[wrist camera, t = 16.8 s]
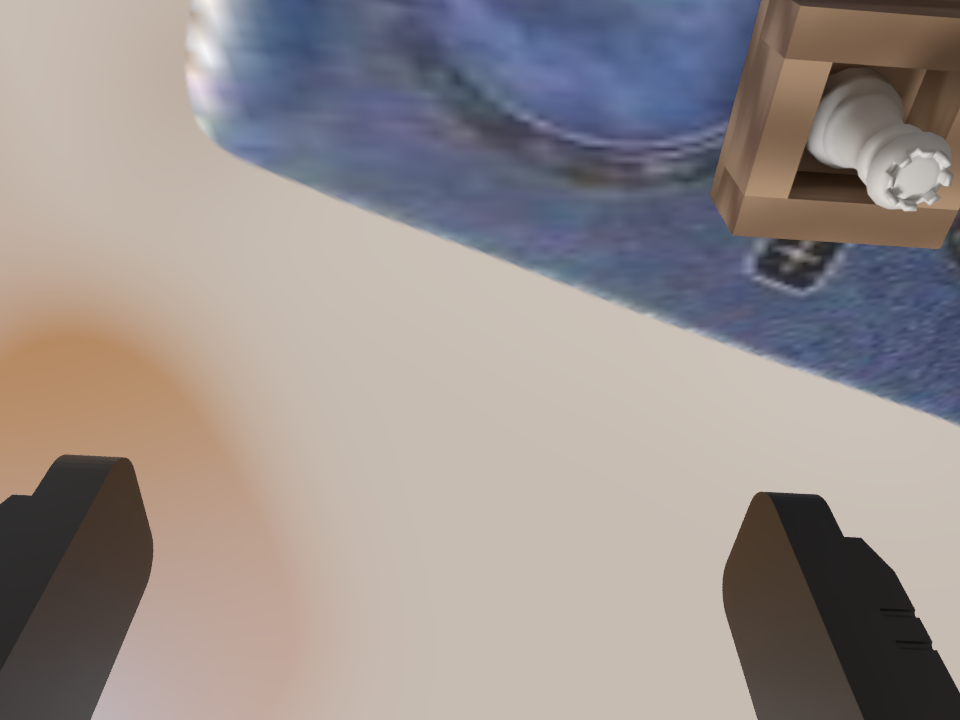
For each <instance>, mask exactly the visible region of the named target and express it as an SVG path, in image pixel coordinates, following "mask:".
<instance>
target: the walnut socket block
mask: <svg viewBox="0 0 960 720" xmlns="http://www.w3.org/2000/svg"><path fill="white" fill-rule="evenodd" d="M847 68H869V69H871V70H874V71H876V72H878V73H880V74H883V75H884V76H885V78H886V79H887V80H888V81H889V82H891V83H892V85H893V86H894V87H895V89H896V90H897V92H898V93H899V94H900V96H901V99H902V107H903V115H904V116H903V123H904V124H910V125H913V126H915V127H917V128H919V129H921V130H922V132H932V133H934V134H936V135H938V136H941V137H943V138H944V139H945V141H946V142H947V144H948V145H949V146H950V148H951V154H952V162H953V164H952V165H951V168H950V172H952V173H953V174H954V177H953V180H952V183H951V186H950V187H948V186H943V185H942V186H941V187H940V188H939V190H938V191H937V192H936V194H938V195H939V196H940V197H941V199H939V200H938V201H936V202H935V203H934V204H932V205H931V206H929V205H928V204H927V203H925V202H922V203H920V204H917V211H903V210H902V209H886V208H884V207H882V206H879V205H877V204H875V202H874V201H873V200H872V199H871V198H870V196H869V195H868V192H867V186H866V185H865V184H864V183H863V181H862V180H861V179H860V178H859V176H858V171H857V170H856V169H854V168H843V169H835V168H832V167H829V166H827V165H824V164H822V163H819V162H817V161H816V160H815V159H814V157H811V156H809V155H808V153H807V152H806V151H805V150H804V148H805V145H806V142H807V139H808V136H809V133H810V130H811V127H812V124H813V121H814V118H815V115H816V112H817V109H818V106H819V103H820V100H821V97H822V94H823V91H824V87H825V84H826V81H827V78H828V76H830V75H832V74H835V73H837V72H840V71H842V70H845V69H847ZM710 197H711V199H712V200H713V202H714V204H715V206H716V207H717V209H718V211H719V213H720V214H721V216H722V218H723V219H724V221H725V223H726V225H727V226H728V228H729V230H730V231H731V233H732V235H734V236H750V237H765V238H780V239H796V240H811V241H826V242H841V243H857V244H872V245H887V246H903V247H918V248H933V249H940V248H941V246H942V243H943V241H944V239H945V237H946V235H947V233H948V231H949V229H950V227H951V225H952V222H953V220H954V218H955V216H956V214H957V212H958V210H959V208H960V0H761V4H760V7H759V11H758V15H757V19H756V22H755V26H754V30H753V34H752V37H751V41H750V45H749V49H748V52H747V56H746V60H745V64H744V67H743V71H742V75H741V79H740V83H739V86H738V90H737V94H736V98H735V101H734V105H733V109H732V113H731V116H730V120H729V124H728V128H727V131H726V135H725V139H724V143H723V146H722V150H721V154H720V158H719V161H718V165H717V169H716V173H715V176H714V180H713V184H712V188H711V191H710Z"/></svg>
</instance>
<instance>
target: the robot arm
mask: <svg viewBox="0 0 960 720" xmlns="http://www.w3.org/2000/svg"><path fill="white" fill-rule="evenodd" d="M152 560H153V539H152V534H151V530H150V527H149V523H148V519H147V516H146V512H145V508H144V504H143V500H142V497H141V493H140V489H139V485H138V482H137V478H136V474H135V470H134V468H133V465H132V463H131V462H130V460H129V459H127V458H122V457H101V456H83V455H62V456H60V457H59V458H57V460H55V462H54V463H53V464H52V465H51V467H50V468H49V470H48V472H47V473H46V475H45V476H44V478H43V479H42V481H41V482H40V484H39V486H38V487H37V489H36V490H35V492H34V493H33V495H32V496H26V495H11V496H10V497H9V498H7V499H6V500H5V501H4V502H3V503H1V504H0V720H90V719H91V717H92V714H93V712H94V710H95V707H96V705H97V703H98V700H99V698H100V696H101V693H102V691H103V688H104V686H105V684H106V681H107V679H108V677H109V674H110V672H111V669H112V667H113V665H114V662H115V660H116V657H117V655H118V653H119V650H120V648H121V646H122V643H123V641H124V638H125V636H126V634H127V631H128V629H129V626H130V624H131V622H132V619H133V617H134V614H135V612H136V610H137V607H138V605H139V603H140V600H141V598H142V596H143V593H144V590H145V588H146V586H147V583H148V580H149V576H150V572H151V566H152ZM723 602H724V608H725V612H726V616H727V620H728V623H729V626H730V629H731V633H732V636H733V639H734V643H735V646H736V649H737V653H738V656H739V659H740V663H741V666H742V669H743V672H744V676H745V679H746V682H747V686H748V689H749V692H750V696H751V699H752V702H753V706H754V709H755V712H756V715H757V718H758V720H960V693H959V691H958V689H957V687H956V685H955V683H954V681H953V680H952V678H951V676H950V674H949V672H948V670H947V668H946V666H945V665H944V663H943V661H942V659H941V657H940V655H939V654H938V652H937V650H933V649H932V641H931V639H930V637H929V635H928V633H927V631H926V629H925V628H924V626H923V624H922V622H921V620H920V618H916V617H915V613H914V612H915V609H914V607H913V605H912V603H911V601H910V600H909V598H908V596H907V594H906V592H905V590H904V588H903V587H902V585H901V583H900V581H899V579H898V577H897V575H896V574H895V572H894V571H893V570H892V569H891V568H890V567H889V566H888V565H887V564H886V563H885V562H884V561H883V560H882V559H881V558H880V557H879V556H878V555H877V554H876V552H874V551H873V550H872V548H870V547H869V545H867V543H865V542H864V540H863V539H862V538H854V537H852V538H851V537H844V536H843V534H842V532H841V530H840V528H839V526H838V524H837V522H836V520H835V518H834V516H833V514H832V512H831V510H830V508H829V506H828V504H827V503H826V501H825V500H824V499H823V498H822V497H820V496H819V495H814V494H793V493H774V492H759V493H757V494H756V495H755V496H754V497H753V499H752V501H751V503H750V506H749V508H748V510H747V513H746V515H745V518H744V521H743V523H742V525H741V528H740V530H739V533H738V535H737V538H736V540H735V543H734V545H733V548H732V550H731V553H730V555H729V558H728V560H727V563H726V566H725V570H724V575H723Z"/></svg>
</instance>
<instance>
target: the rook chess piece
mask: <svg viewBox="0 0 960 720" xmlns="http://www.w3.org/2000/svg"><path fill="white" fill-rule="evenodd" d="M903 116H904V115H903V107H902V99H901V96H900V94H899V93H898V92H897V90H896V89H895V87H894V86H893V85H892V83H891V82H889V81H888V80H887V79H886V78H885V76H884V75H883V74H880V73H878V72H876V71H874V70H871V69H869V68H847V69H845V70H842V71H840V72H837V73H835V74H832V75H830V76H828V78H827V81H826V84H825V87H824V91H823V94H822V97H821V100H820V103H819V106H818V109H817V112H816V115H815V118H814V121H813V124H812V127H811V130H810V133H809V136H808V139H807V142H806V145H805V148H804V150H805V151H806V152H807V153H808V155H809V156H811V157H814V159H815V160H816V161H817V162H819V163H822V164H824V165H827V166H829V167H832V168H835V169H843V168H854V169H856V170H857V171H858V176H859V178H860V179H861V180H862V181H863V183H864V184H865V185H866V186H867V192H868V195H869V196H870V198H871V199H872V200H873V201H874V202H875V204H877V205H879V206H882V207H884V208H886V209H902V210H903V211H917V204H920V203H922V202H925V203H927V204H928V205H929V206H931V205H932V204H934V203H935V202H936V201H938V200H939V199H941V197H940V196H939V195H938V194H936V192H937V191H938V190H939V188H940V187H941V186H942V185H943V186H948V187H950V186H951V183H952V180H953V177H954V174H953V173H952V172H950V168H951V165H952V164H953V162H952V154H951V148H950V146H949V145H948V144H947V142H946V141H945V139H944V138H943V137H941V136H938V135H936V134H934V133H932V132H922V130H921V129H919V128H917V127H915V126H913V125H910V124H904V123H903Z"/></svg>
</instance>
